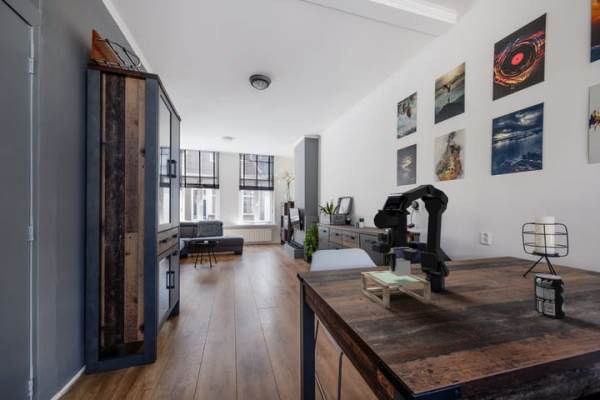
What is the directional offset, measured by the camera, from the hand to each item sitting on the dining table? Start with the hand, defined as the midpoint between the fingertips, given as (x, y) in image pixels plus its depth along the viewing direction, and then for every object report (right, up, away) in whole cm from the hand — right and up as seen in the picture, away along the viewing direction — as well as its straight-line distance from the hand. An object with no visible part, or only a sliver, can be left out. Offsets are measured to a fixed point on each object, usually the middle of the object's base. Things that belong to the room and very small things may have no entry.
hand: (399, 271), depth 88 cm
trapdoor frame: (-1, -11, +3) cm, 11 cm away
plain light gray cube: (0, -1, 0) cm, 1 cm away
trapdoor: (-1, -4, +4) cm, 6 cm away
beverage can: (+42, -10, -11) cm, 45 cm away
